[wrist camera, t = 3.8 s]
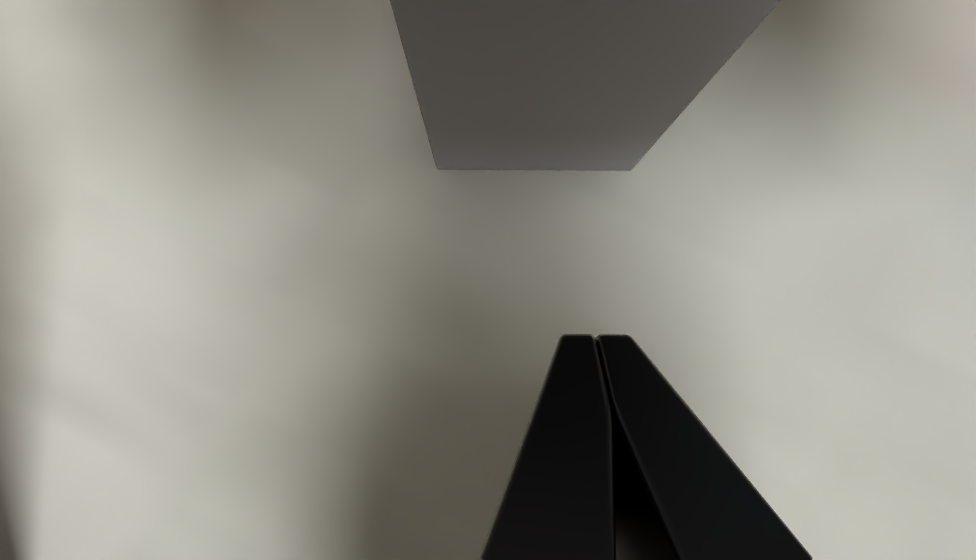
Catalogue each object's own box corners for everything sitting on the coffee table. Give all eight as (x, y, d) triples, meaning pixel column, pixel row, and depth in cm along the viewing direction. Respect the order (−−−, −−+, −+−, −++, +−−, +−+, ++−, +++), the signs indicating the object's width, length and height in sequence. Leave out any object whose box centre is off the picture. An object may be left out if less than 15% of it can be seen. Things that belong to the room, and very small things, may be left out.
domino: (630, 170, 19) (793, -16, 9) (437, 169, 19) (384, -19, 9) (629, 109, 19) (790, -140, 9) (437, 108, 19) (387, -143, 9)
